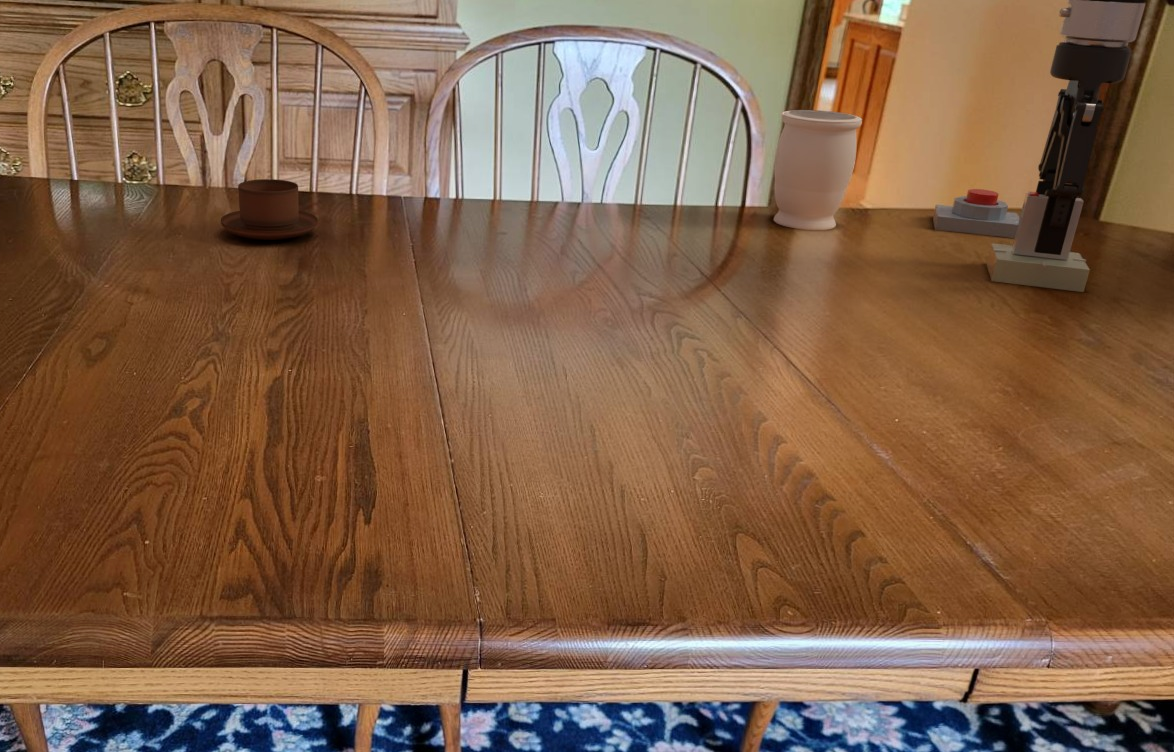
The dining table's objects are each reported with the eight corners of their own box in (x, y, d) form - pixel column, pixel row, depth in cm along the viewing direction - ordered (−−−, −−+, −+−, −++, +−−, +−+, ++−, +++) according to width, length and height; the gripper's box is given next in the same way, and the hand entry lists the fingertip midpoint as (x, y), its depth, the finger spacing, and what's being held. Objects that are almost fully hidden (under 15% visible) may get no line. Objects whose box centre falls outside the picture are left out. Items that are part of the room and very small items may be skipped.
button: (994, 203, 156) (997, 190, 155) (996, 208, 152) (999, 196, 152) (964, 200, 157) (967, 187, 156) (966, 205, 154) (968, 193, 153)
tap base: (1072, 274, 136) (1079, 249, 135) (1085, 297, 128) (1093, 270, 126) (984, 264, 139) (990, 239, 138) (990, 285, 130) (997, 259, 129)
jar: (787, 234, 149) (805, 120, 143) (752, 216, 158) (768, 108, 152) (857, 233, 152) (878, 121, 145) (819, 215, 161) (837, 109, 154)
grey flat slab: (1065, 256, 132) (1081, 196, 129) (1067, 260, 130) (1084, 199, 127) (1011, 250, 134) (1026, 190, 131) (1013, 254, 132) (1028, 193, 129)
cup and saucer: (205, 229, 140) (202, 180, 137) (289, 219, 146) (288, 172, 144) (248, 251, 131) (245, 199, 128) (335, 239, 138) (335, 190, 135)
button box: (1013, 228, 158) (1020, 200, 157) (1019, 240, 151) (1026, 211, 150) (932, 219, 161) (938, 192, 160) (934, 231, 154) (940, 203, 153)
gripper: (1045, 33, 132) (999, 221, 142) (1073, 47, 114) (1018, 261, 123) (1114, 38, 130) (1063, 228, 140) (1153, 52, 112) (1091, 270, 121)
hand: (1042, 243), depth 131 cm, fingers open, 8 cm apart
